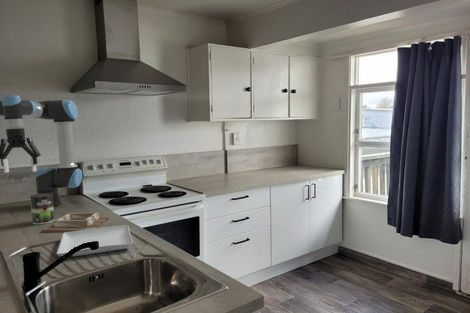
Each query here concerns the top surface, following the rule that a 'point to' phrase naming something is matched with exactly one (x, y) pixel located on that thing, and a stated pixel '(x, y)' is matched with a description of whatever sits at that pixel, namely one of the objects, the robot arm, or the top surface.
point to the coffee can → (42, 208)
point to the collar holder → (76, 222)
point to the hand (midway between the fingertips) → (20, 171)
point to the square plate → (105, 236)
